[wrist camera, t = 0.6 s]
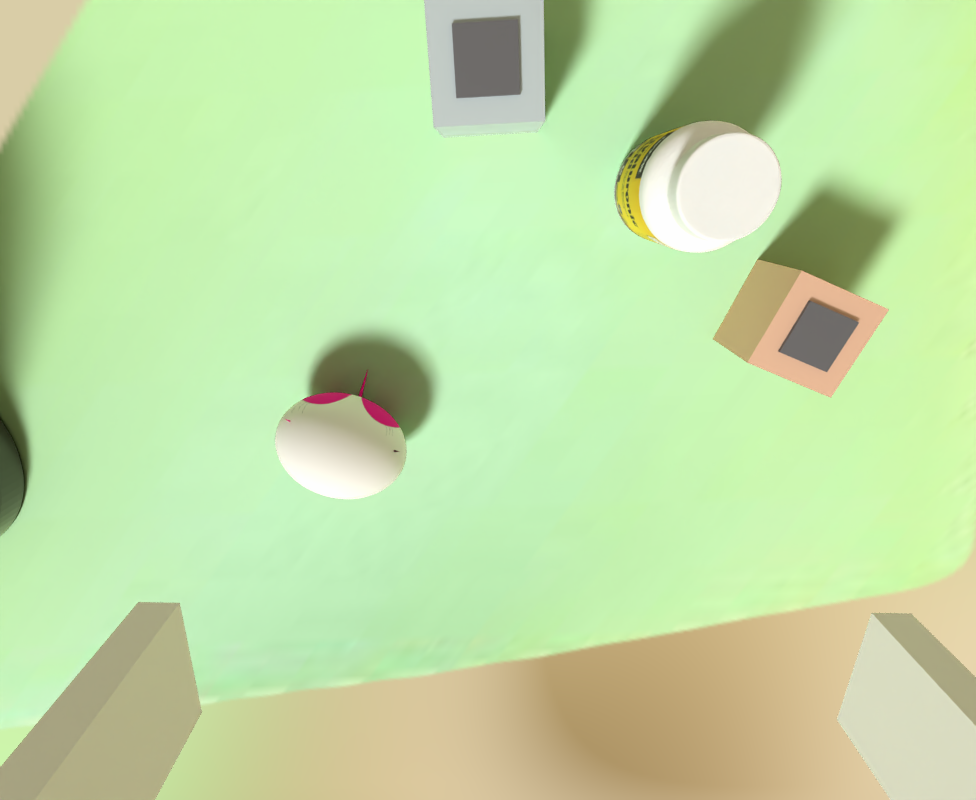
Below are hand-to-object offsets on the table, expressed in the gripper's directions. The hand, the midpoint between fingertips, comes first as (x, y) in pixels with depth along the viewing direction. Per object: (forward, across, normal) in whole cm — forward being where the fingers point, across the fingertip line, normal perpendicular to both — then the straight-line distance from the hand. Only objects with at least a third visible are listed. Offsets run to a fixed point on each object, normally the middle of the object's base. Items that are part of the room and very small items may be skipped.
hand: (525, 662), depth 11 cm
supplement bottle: (+24, +9, +9) cm, 27 cm away
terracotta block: (+24, +16, +2) cm, 29 cm away
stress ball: (+25, -9, -5) cm, 27 cm away
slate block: (+24, -1, +14) cm, 28 cm away
